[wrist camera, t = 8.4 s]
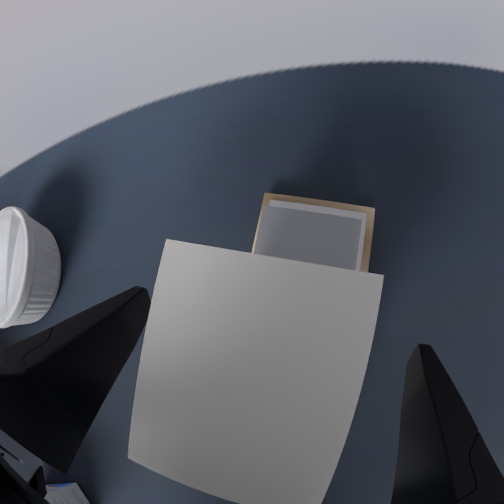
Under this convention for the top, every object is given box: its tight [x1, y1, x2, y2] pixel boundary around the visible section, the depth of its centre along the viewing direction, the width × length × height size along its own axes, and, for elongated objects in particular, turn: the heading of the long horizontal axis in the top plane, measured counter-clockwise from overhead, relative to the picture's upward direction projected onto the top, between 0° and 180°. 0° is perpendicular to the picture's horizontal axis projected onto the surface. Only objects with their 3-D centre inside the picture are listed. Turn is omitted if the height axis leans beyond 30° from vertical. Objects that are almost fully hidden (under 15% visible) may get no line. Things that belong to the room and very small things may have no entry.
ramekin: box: [0, 206, 61, 328], centre depth 22 cm, size 11×11×5 cm
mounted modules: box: [253, 205, 362, 270], centre depth 15 cm, size 14×5×3 cm, turn 170°
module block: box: [128, 239, 384, 504], centre depth 11 cm, size 6×5×11 cm
